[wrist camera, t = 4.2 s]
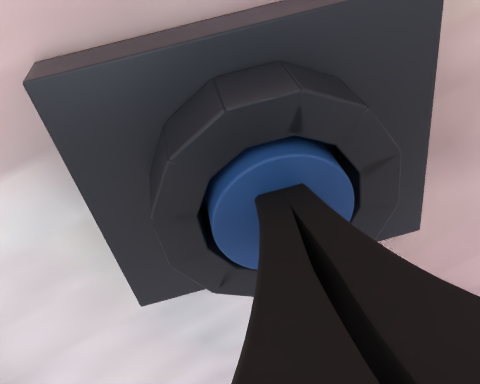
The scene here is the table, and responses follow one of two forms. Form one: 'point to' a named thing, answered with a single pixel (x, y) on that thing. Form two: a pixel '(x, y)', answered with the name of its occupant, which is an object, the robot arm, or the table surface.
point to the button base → (241, 124)
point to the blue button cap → (270, 190)
